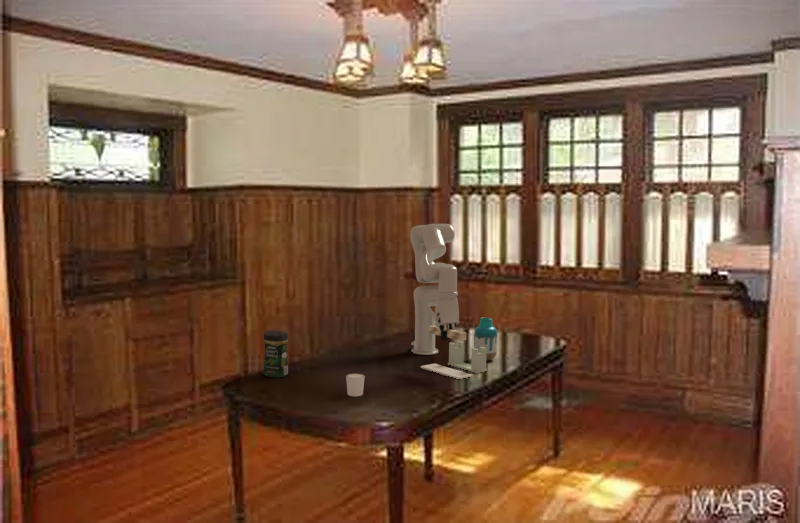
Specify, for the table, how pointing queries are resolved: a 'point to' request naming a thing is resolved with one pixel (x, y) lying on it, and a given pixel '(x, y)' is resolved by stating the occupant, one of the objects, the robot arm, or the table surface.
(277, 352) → the coffee jar
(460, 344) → the cradle stand
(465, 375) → the felt mat
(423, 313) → the robot arm
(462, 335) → the rail
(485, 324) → the vase
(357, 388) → the shot glass
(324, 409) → the table surface
